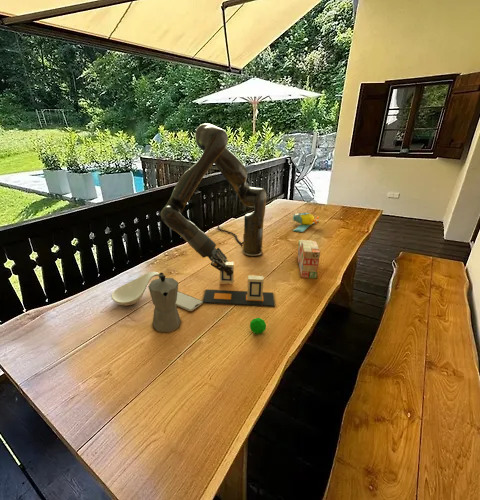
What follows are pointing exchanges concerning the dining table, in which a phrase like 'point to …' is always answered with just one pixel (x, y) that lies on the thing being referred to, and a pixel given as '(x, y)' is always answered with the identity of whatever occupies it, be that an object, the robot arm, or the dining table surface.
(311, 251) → the stack of blocks
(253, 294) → the upright beige pillar
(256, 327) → the polyhedron
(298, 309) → the dining table surface
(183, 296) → the smartphone
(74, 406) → the dining table surface
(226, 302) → the word mat
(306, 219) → the toy airplane
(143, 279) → the spoon rest
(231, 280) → the cream oblong block
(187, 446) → the dining table surface
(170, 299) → the coffeepot
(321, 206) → the dining table surface
